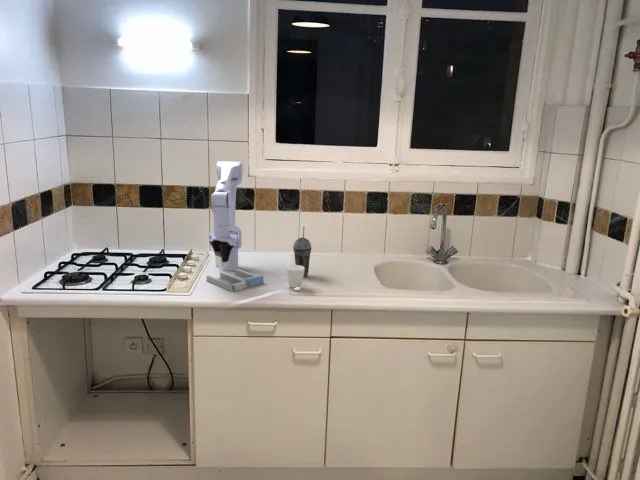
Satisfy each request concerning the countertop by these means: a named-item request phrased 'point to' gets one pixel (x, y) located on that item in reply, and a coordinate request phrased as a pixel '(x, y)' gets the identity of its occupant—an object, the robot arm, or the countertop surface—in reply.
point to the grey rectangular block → (220, 259)
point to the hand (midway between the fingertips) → (222, 260)
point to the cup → (295, 275)
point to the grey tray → (236, 280)
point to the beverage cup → (302, 253)
